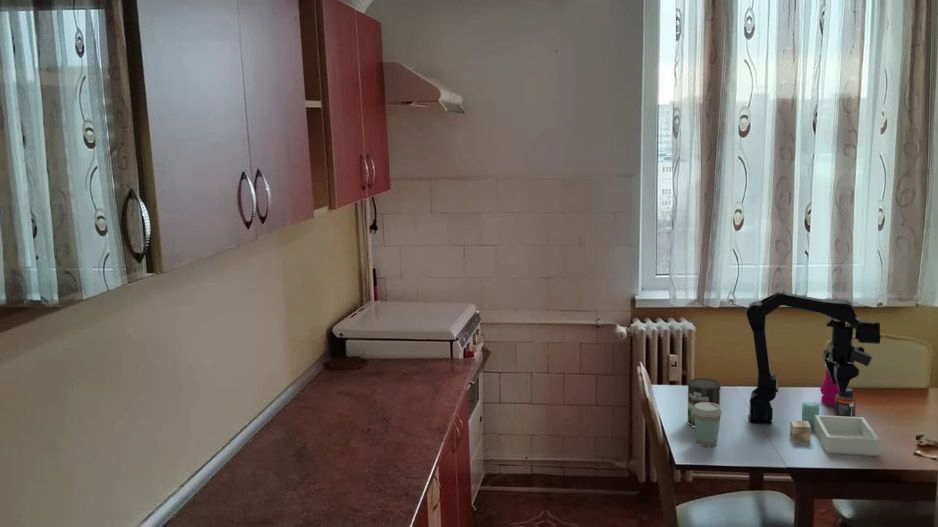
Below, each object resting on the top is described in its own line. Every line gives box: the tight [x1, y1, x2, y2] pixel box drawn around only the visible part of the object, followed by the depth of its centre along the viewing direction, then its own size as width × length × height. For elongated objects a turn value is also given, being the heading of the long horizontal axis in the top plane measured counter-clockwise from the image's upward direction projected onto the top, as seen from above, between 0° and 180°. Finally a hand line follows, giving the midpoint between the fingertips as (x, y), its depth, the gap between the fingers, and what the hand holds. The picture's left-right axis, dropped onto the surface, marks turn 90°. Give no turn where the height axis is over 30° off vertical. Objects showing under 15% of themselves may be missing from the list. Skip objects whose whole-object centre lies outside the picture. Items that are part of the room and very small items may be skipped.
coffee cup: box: [693, 402, 723, 448], centre depth 226 cm, size 9×8×12 cm
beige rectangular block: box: [789, 420, 812, 444], centre depth 227 cm, size 5×5×5 cm
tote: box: [813, 414, 881, 457], centre depth 223 cm, size 14×18×5 cm
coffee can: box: [687, 377, 722, 426], centre depth 241 cm, size 10×10×14 cm
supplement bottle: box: [833, 387, 857, 417], centre depth 238 cm, size 6×6×11 cm
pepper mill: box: [819, 364, 839, 406], centre depth 255 cm, size 7×7×20 cm
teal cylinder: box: [801, 401, 820, 429], centre depth 237 cm, size 5×5×7 cm
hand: (838, 388), depth 232 cm, fingers open, 9 cm apart
